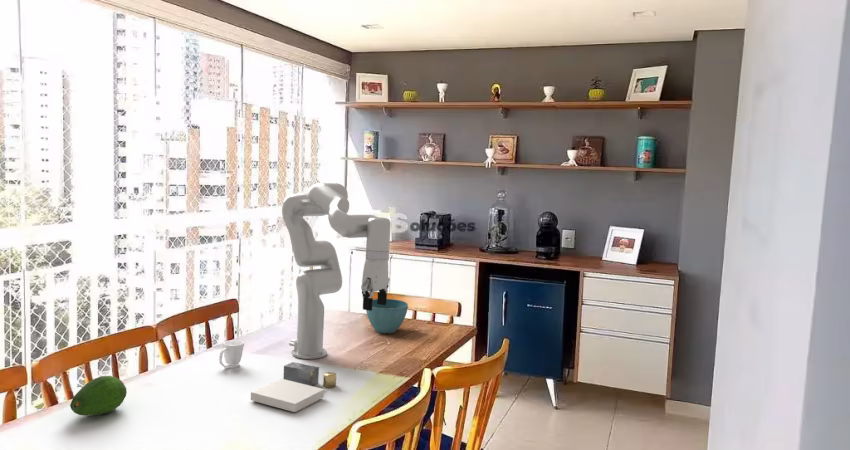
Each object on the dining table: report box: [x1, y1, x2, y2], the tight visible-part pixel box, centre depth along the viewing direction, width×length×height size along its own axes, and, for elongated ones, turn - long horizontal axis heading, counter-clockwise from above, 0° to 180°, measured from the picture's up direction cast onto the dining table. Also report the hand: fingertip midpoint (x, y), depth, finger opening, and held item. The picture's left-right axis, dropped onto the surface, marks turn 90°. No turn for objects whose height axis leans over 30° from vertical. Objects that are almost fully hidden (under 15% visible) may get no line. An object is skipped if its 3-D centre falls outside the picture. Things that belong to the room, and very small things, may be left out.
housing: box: [282, 361, 320, 387], centre depth 198 cm, size 10×5×6 cm, turn 68°
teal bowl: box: [365, 298, 409, 334], centre depth 267 cm, size 18×18×12 cm
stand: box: [250, 378, 325, 413], centre depth 183 cm, size 16×14×3 cm
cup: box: [218, 339, 245, 369], centre depth 210 cm, size 7×10×8 cm
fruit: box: [69, 375, 127, 416], centre depth 166 cm, size 15×10×10 cm, turn 156°
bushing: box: [322, 371, 337, 389], centre depth 197 cm, size 4×4×4 cm
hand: (374, 307), depth 202 cm, fingers open, 9 cm apart
